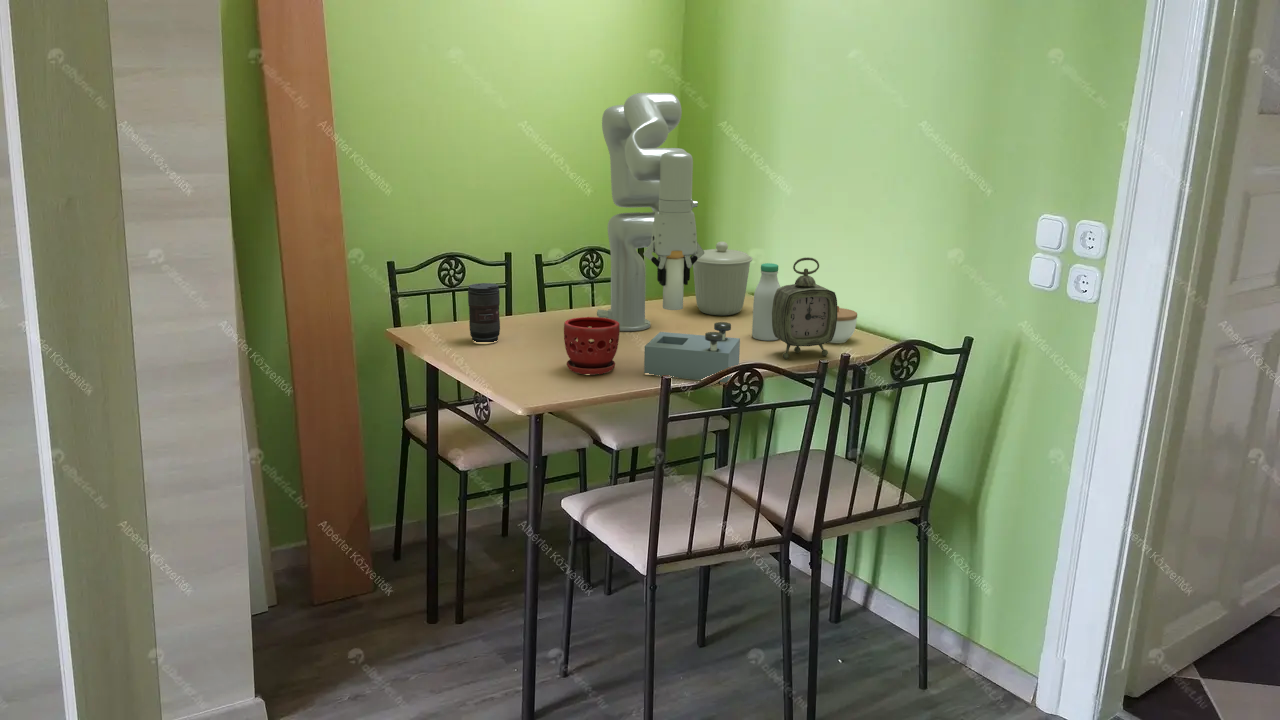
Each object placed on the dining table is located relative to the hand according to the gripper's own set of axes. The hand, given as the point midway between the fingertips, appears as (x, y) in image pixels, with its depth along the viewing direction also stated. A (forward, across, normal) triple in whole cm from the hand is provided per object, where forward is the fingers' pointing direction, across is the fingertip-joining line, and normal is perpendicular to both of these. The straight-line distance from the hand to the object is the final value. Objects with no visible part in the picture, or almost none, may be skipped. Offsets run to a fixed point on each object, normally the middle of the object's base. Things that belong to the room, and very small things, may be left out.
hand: (673, 283), depth 235 cm
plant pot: (+21, +19, -2) cm, 29 cm away
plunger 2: (+17, -12, +2) cm, 21 cm away
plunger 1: (+17, -7, +10) cm, 21 cm away
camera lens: (+22, +41, -34) cm, 58 cm away
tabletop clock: (+21, -35, -4) cm, 41 cm away
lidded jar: (+21, -50, -16) cm, 56 cm away
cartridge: (+6, 0, 0) cm, 6 cm away
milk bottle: (+21, -33, -22) cm, 45 cm away
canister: (+22, -30, -53) cm, 64 cm away
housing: (+21, -4, +3) cm, 21 cm away
